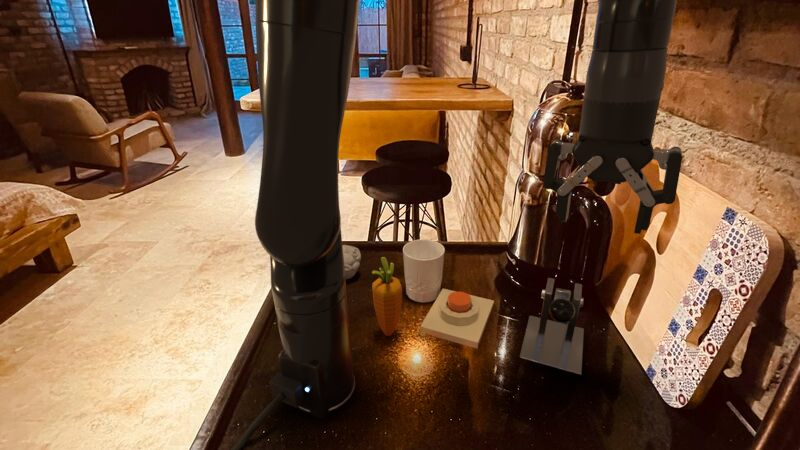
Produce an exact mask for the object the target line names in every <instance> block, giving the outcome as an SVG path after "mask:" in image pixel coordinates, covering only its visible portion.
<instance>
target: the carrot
mask: <svg viewBox="0 0 800 450" xmlns="http://www.w3.org/2000/svg"><path fill="white" fill-rule="evenodd" d="M380 261H381V265H382V267H379V271H378V270H372V271H371V274H372V275H374V276H377V277H378V278H377V279H375V280H374V281H373V282H372V284H371V290H372V299H373V307H374V313H375V316H376V319H377V322H378V323H377V324H378V326H379V328H380V330H381V331H382V332H383V334H384V335H385V336H386V337H391V336H392V335H393V334H394V332H395V331H396V329H397V327H398V325H399V322H400V318H401V313H402V305H403V304H402V303H403V287H402V285H401V281H400V279H398V278H397V277H394V276H393V275H394V270H395V263H393V262H390V264H389V261H388V260H387V257H385V256H382V257H381V258H380Z"/></svg>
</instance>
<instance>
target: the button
mask: <svg viewBox="0 0 800 450" xmlns="http://www.w3.org/2000/svg"><path fill="white" fill-rule="evenodd" d="M468 294H469V293H467V292H464V291H456V292H453V293H451V294H450V295H449V296H448V308H449V309H450V310H451V311H453V312H456V313H466V312H468V311H469V310H470V308H471V297H470V296H469V295H470V294H469V295H468Z"/></svg>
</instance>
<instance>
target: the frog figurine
mask: <svg viewBox="0 0 800 450" xmlns="http://www.w3.org/2000/svg"><path fill="white" fill-rule="evenodd" d="M342 247H343V255H344V265H345V276H346V280H349V279H352V278H353V277H354V276H355V275H356V273H357V272H358V268H359V267H360V265H361V263H360V262H361V260H362V254H361V251H360V249H359V248H358V247H356V246H353V245H347V244H342Z"/></svg>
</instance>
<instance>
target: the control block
mask: <svg viewBox="0 0 800 450" xmlns="http://www.w3.org/2000/svg"><path fill="white" fill-rule="evenodd" d="M453 292H457V291H456V290H451V289H448V288H442V289H441V290H440V294H439V296H438V297H437V299H436V300H434V301H433V302H434V303H433V304H432V306H431V307H430V309H429V311H428V312H427V314H426V316H425V317H424V319H423V321H422V322H421V325H420V326H419V337H421V338H424V337H425V335H428V336H432V337H435V338H438V339H442V340H445V341H449V342H453V343H456V344H459V345H463V346H466V347H467V346H468V347H470V348H473V349H479V346H480V343H481V341H482V338H483V336H484V333H485V330H486V328H487V326H488V323H489V320H490V318H491V315H492V312H493V310H494V306H495V300H492V299H489V298H485V297H480V296H477V295H473V294H469V293H467V294H468V295H469V296H470V297H471V308H470V310H469V311H468V312H466V313H456V312H453V311H451V310H450V309H449V308H448V296H449V295H450V294H451V293H453Z"/></svg>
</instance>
